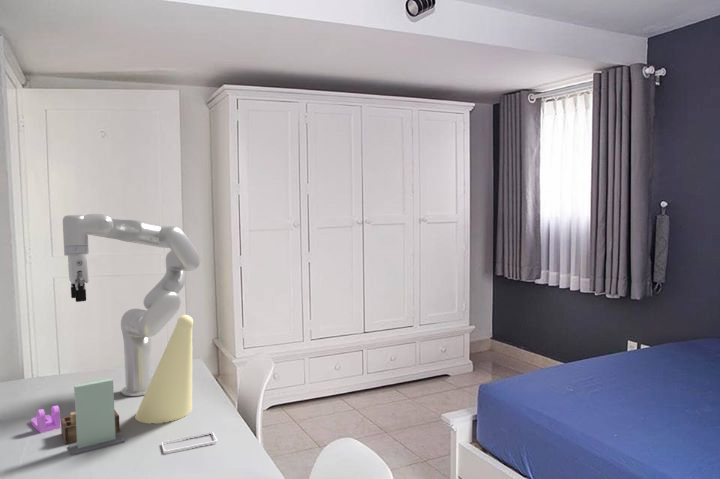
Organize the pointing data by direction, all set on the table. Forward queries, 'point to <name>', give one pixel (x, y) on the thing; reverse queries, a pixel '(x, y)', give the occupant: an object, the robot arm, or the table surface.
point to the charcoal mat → (96, 445)
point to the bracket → (47, 420)
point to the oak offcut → (73, 418)
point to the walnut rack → (70, 430)
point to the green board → (94, 412)
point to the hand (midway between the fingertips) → (78, 299)
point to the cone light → (171, 379)
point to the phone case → (187, 446)
